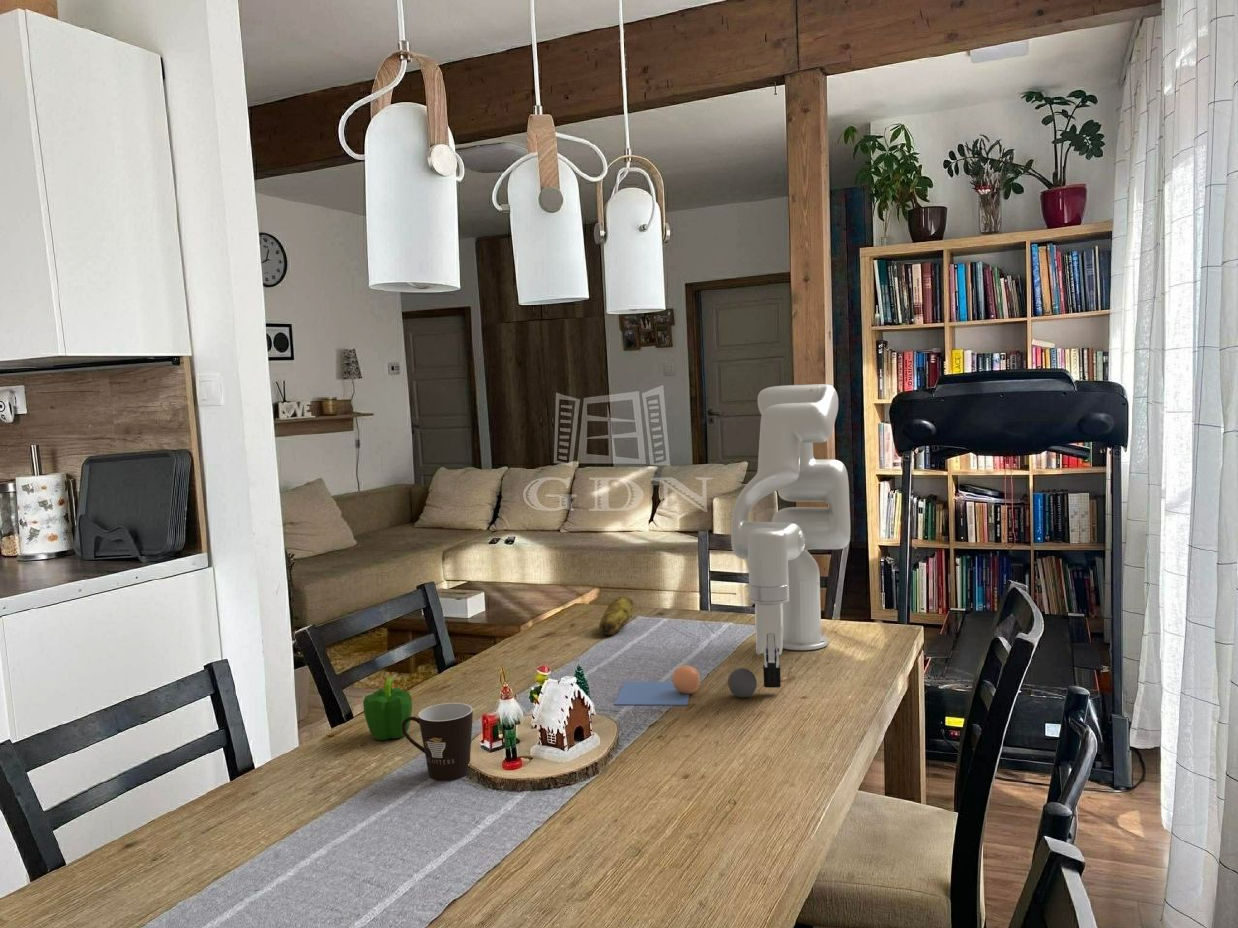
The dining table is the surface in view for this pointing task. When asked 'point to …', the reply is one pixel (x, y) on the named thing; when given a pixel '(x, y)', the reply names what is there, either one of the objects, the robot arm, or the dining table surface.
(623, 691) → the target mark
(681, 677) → the object ball
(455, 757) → the coffee mug
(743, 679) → the dark gray ball
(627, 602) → the potato
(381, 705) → the bell pepper
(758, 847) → the dining table surface
